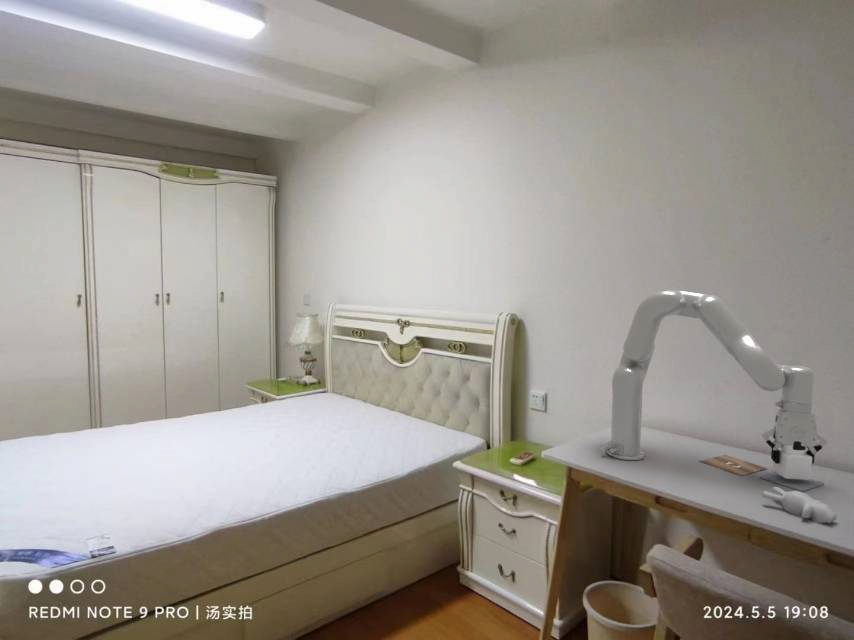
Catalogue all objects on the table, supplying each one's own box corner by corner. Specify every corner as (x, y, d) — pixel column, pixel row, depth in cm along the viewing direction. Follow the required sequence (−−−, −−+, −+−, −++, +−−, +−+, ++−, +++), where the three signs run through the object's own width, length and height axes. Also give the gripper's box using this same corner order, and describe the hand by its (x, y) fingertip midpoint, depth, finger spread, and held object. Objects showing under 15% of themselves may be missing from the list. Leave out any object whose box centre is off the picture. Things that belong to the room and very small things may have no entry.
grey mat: (802, 492, 145) (802, 490, 145) (759, 477, 156) (759, 476, 156) (824, 484, 151) (824, 483, 151) (780, 471, 161) (781, 469, 161)
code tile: (741, 476, 157) (741, 475, 157) (699, 461, 169) (699, 461, 169) (767, 468, 163) (767, 468, 163) (725, 455, 176) (725, 454, 176)
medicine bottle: (796, 471, 156) (799, 433, 155) (811, 480, 149) (814, 440, 148) (771, 469, 157) (774, 432, 156) (785, 479, 150) (788, 439, 149)
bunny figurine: (827, 514, 123) (761, 485, 136) (822, 533, 124) (757, 503, 136) (843, 505, 128) (778, 478, 141) (839, 523, 129) (774, 495, 141)
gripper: (766, 407, 151) (762, 464, 152) (836, 412, 145) (831, 471, 147) (758, 401, 158) (755, 456, 159) (824, 406, 152) (820, 463, 154)
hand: (791, 463), depth 153 cm, fingers closed on medicine bottle, 8 cm apart
